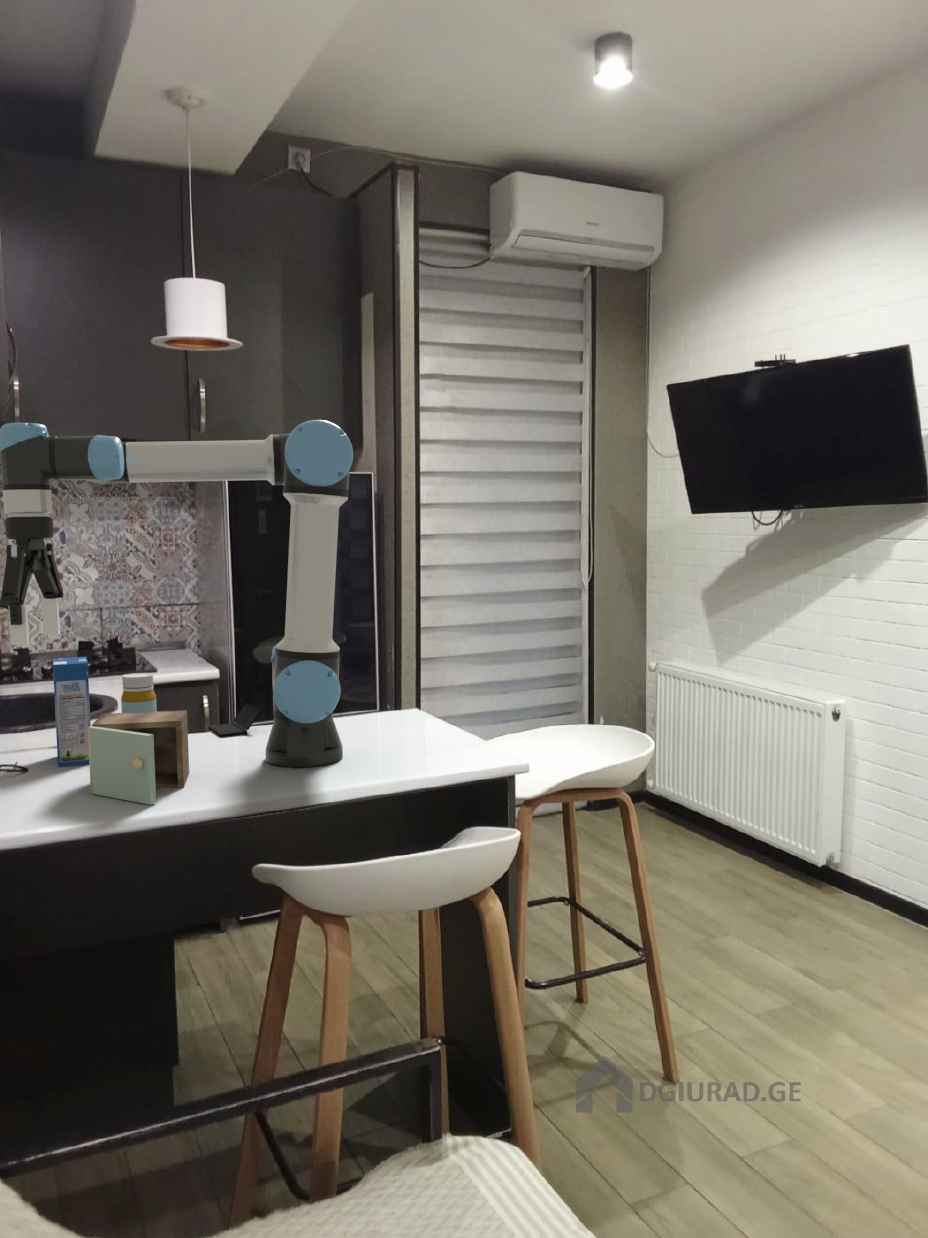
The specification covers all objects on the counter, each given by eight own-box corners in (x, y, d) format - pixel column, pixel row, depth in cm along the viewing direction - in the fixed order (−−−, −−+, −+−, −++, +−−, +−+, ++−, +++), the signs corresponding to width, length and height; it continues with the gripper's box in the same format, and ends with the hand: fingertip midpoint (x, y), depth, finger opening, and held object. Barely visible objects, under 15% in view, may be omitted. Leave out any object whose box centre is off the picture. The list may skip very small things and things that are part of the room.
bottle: (139, 750, 199) (136, 678, 197) (116, 746, 202) (113, 676, 201) (164, 743, 205) (162, 674, 203) (142, 740, 208) (139, 671, 207)
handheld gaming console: (199, 723, 218) (225, 687, 220) (222, 738, 222) (248, 703, 224) (220, 739, 209) (247, 701, 211) (244, 754, 213) (270, 717, 216)
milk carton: (92, 763, 187) (87, 662, 186) (58, 767, 185) (52, 664, 183) (91, 753, 197) (86, 656, 195) (58, 756, 194) (53, 658, 192)
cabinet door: (156, 802, 160) (153, 734, 159) (144, 806, 158) (142, 737, 156) (94, 791, 167) (91, 726, 166) (83, 794, 165) (80, 728, 164)
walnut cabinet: (189, 773, 180) (186, 710, 178) (183, 787, 170) (181, 720, 169) (105, 777, 177) (102, 713, 176) (94, 792, 167) (91, 724, 166)
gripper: (35, 516, 175) (43, 631, 177) (-29, 515, 151) (-19, 649, 153) (77, 515, 176) (84, 630, 178) (20, 514, 151) (29, 648, 153)
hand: (36, 639), depth 165 cm, fingers open, 13 cm apart
